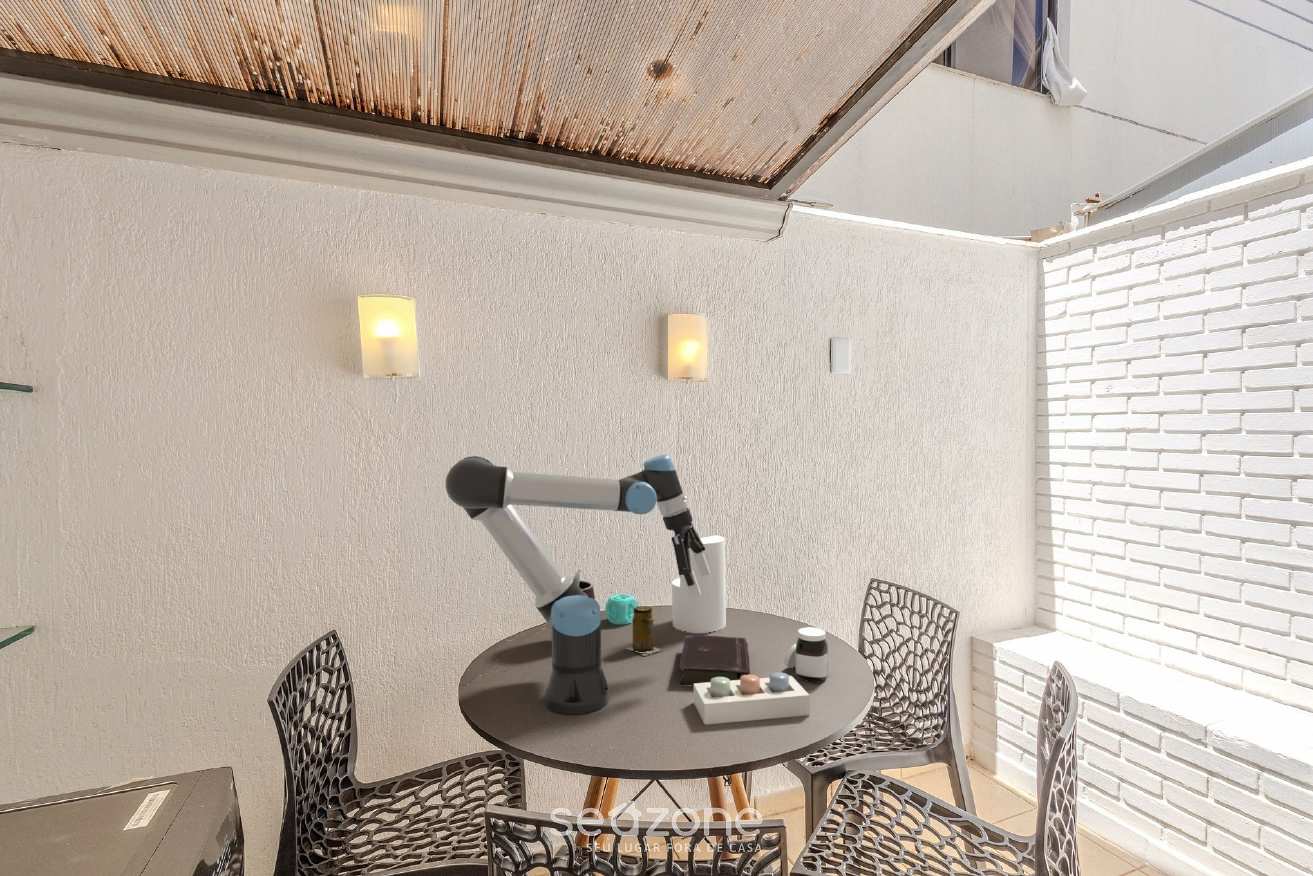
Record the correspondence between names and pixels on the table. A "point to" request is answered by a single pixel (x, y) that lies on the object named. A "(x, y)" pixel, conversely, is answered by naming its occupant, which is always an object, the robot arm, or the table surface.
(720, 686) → the sage button
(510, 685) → the table surface
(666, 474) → the robot arm
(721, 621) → the cylinder
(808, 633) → the spread jar
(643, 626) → the condiment
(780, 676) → the slate button
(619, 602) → the decorative dice
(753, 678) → the terracotta button
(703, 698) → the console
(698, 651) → the diary
